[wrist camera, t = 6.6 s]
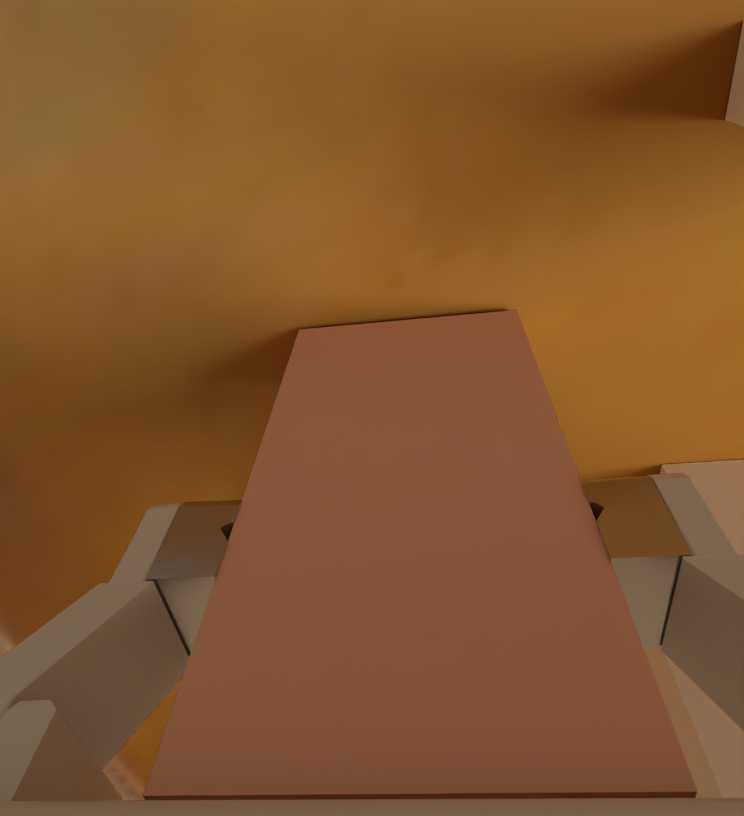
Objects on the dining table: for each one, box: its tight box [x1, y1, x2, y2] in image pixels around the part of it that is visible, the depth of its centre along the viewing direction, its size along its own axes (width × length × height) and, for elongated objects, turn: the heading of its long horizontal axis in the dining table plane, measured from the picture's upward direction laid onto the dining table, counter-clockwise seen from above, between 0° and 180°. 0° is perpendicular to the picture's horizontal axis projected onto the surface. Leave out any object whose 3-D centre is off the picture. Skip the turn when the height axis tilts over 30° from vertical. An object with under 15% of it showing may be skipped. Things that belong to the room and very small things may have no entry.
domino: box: [143, 310, 698, 800], centre depth 10 cm, size 2×5×10 cm, turn 97°
